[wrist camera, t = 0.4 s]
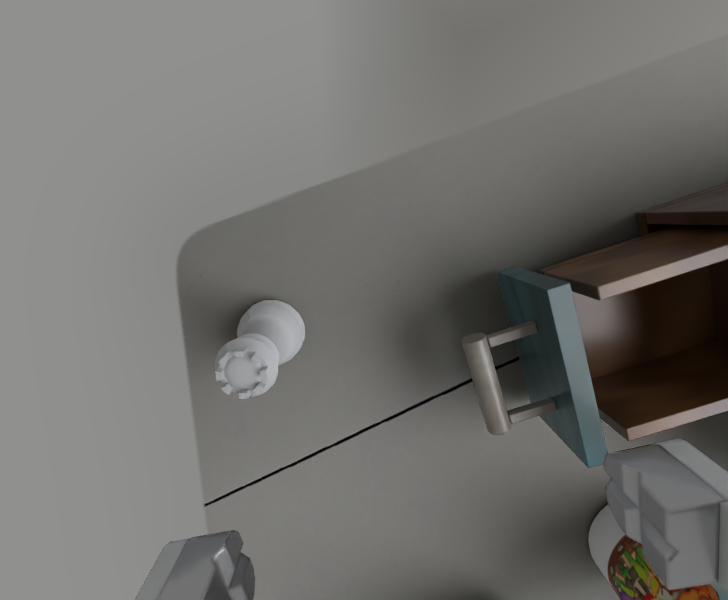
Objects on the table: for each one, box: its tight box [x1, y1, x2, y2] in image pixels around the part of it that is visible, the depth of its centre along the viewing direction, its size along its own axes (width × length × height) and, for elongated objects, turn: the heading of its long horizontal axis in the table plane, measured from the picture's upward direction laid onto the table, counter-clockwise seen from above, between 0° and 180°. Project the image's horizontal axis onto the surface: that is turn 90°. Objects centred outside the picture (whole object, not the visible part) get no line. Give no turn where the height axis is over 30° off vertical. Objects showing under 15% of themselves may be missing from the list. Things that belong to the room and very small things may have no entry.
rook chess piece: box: [215, 300, 305, 399], centre depth 23 cm, size 4×4×8 cm
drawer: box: [462, 225, 728, 468], centre depth 23 cm, size 18×10×7 cm, turn 108°
